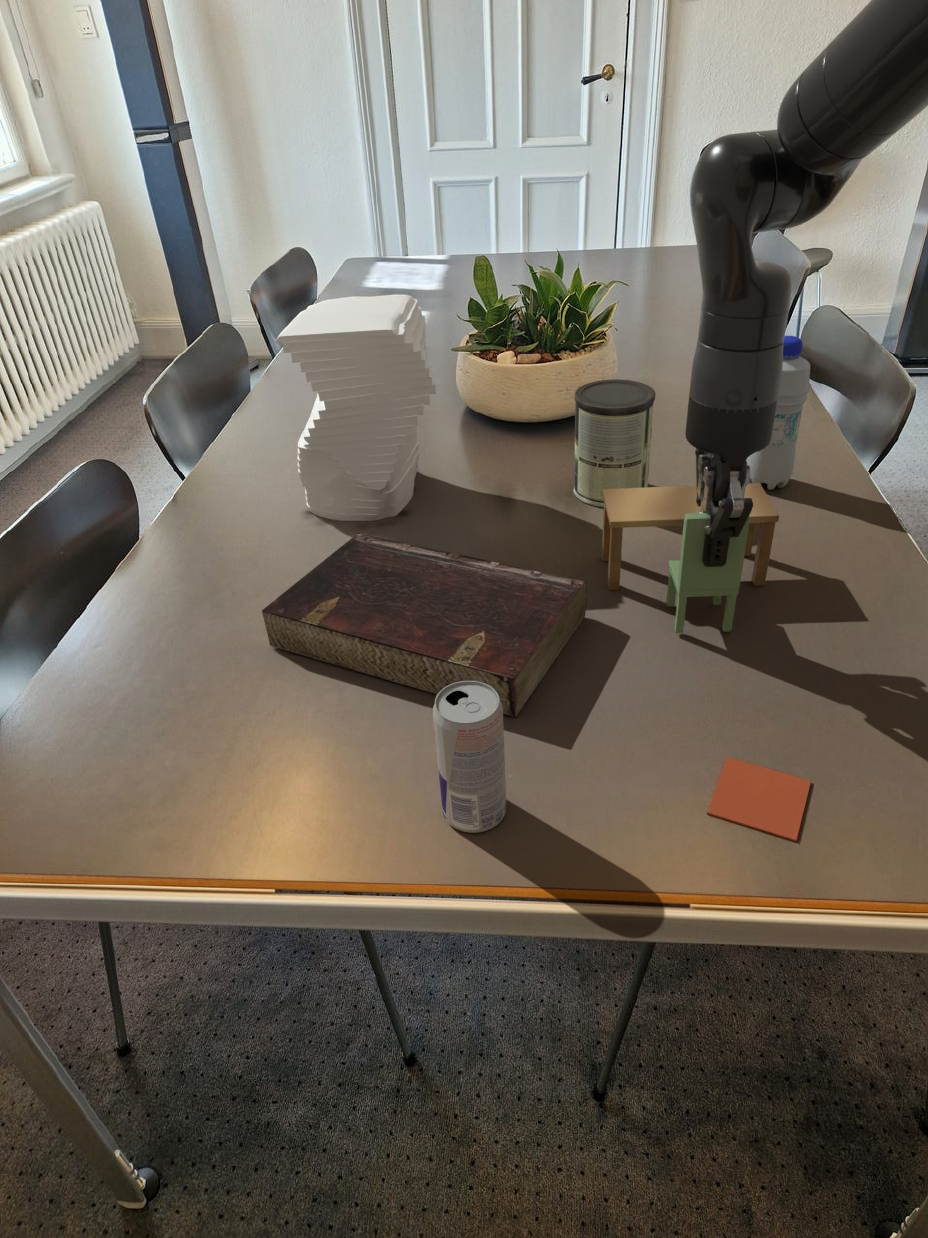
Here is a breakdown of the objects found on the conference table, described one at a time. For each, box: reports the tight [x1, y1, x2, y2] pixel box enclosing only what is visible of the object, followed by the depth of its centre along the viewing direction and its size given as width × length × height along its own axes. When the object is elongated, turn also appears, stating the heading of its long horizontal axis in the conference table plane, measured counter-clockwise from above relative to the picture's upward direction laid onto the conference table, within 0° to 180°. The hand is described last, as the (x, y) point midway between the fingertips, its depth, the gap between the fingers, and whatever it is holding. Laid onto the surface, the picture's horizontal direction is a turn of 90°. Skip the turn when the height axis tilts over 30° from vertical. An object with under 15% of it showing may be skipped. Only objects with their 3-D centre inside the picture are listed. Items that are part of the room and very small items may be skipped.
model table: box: [601, 483, 780, 591], centre depth 97 cm, size 18×8×9 cm, turn 89°
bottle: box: [746, 335, 811, 491], centre depth 111 cm, size 7×7×20 cm
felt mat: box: [706, 756, 812, 842], centre depth 70 cm, size 7×7×1 cm
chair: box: [665, 513, 750, 634], centre depth 88 cm, size 6×6×14 cm
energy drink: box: [432, 681, 507, 834], centre depth 68 cm, size 5×5×12 cm
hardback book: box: [261, 532, 588, 718], centre depth 91 cm, size 29×19×5 cm, turn 63°
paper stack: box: [274, 293, 437, 522], centre depth 115 cm, size 21×27×26 cm
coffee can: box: [573, 378, 656, 508], centre depth 114 cm, size 10×10×14 cm
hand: (711, 559), depth 85 cm, fingers closed
